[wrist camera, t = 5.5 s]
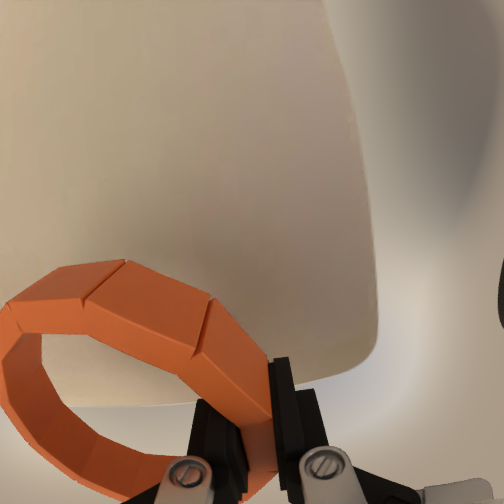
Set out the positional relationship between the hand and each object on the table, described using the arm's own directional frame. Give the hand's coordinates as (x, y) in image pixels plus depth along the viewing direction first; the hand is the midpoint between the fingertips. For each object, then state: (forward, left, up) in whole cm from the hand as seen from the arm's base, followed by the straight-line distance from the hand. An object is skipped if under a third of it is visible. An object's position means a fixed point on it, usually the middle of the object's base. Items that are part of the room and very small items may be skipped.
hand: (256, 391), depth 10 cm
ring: (+5, 0, 0) cm, 5 cm away
